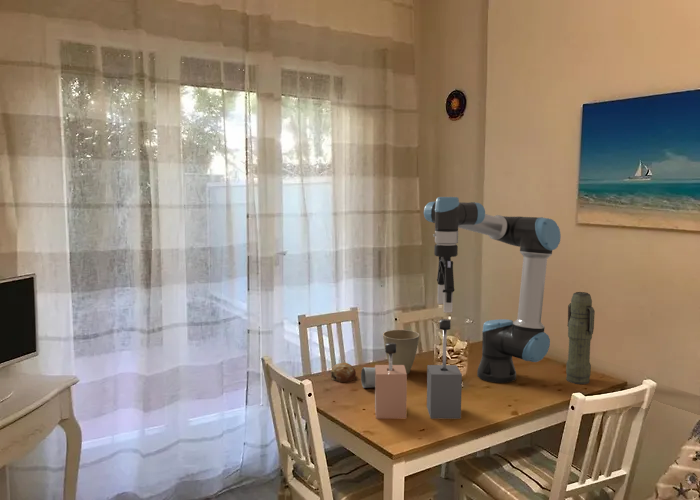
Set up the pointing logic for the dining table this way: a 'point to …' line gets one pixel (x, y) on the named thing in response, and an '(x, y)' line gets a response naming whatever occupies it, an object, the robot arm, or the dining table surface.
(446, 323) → the charcoal plunger
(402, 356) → the plant pot
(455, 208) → the robot arm
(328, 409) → the dining table surface
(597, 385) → the dining table surface
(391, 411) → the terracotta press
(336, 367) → the bread roll
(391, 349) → the plunger
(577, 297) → the thermos
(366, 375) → the ceramic mug
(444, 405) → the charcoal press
